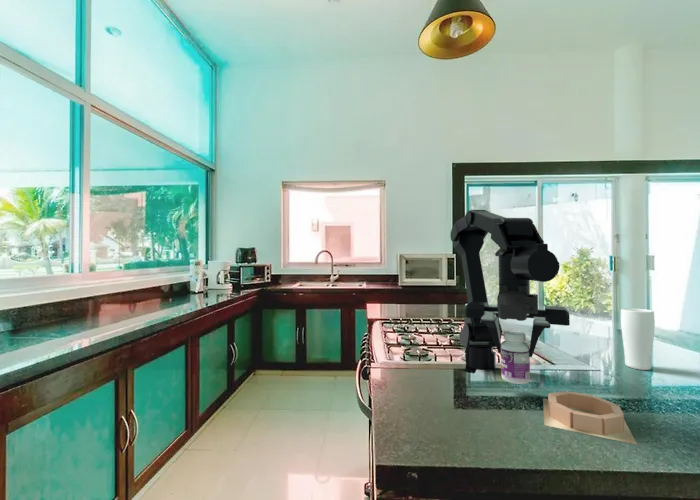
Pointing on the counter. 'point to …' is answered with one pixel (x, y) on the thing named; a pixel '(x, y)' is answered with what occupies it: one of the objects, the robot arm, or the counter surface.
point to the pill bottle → (515, 358)
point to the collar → (603, 423)
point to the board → (551, 422)
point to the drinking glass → (638, 337)
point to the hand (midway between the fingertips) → (514, 354)
